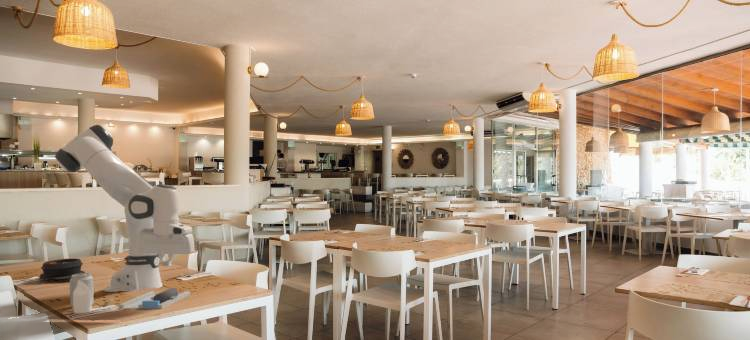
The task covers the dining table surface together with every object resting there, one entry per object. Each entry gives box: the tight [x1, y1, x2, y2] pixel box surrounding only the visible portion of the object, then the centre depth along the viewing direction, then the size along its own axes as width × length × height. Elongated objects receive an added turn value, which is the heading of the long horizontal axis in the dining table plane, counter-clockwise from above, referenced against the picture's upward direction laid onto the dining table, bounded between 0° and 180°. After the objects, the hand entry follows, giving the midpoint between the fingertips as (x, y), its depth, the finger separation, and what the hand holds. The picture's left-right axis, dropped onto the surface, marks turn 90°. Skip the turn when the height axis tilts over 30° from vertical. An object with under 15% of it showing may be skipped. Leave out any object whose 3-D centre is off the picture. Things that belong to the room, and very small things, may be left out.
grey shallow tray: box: [118, 290, 191, 310], centre depth 190 cm, size 16×20×3 cm
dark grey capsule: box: [153, 287, 179, 304], centre depth 188 cm, size 10×4×4 cm
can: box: [69, 272, 95, 309], centre depth 188 cm, size 8×8×12 cm
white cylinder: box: [72, 280, 93, 314], centre depth 178 cm, size 6×12×6 cm
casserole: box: [38, 258, 86, 282], centre depth 243 cm, size 25×19×8 cm
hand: (166, 266), depth 190 cm, fingers closed
